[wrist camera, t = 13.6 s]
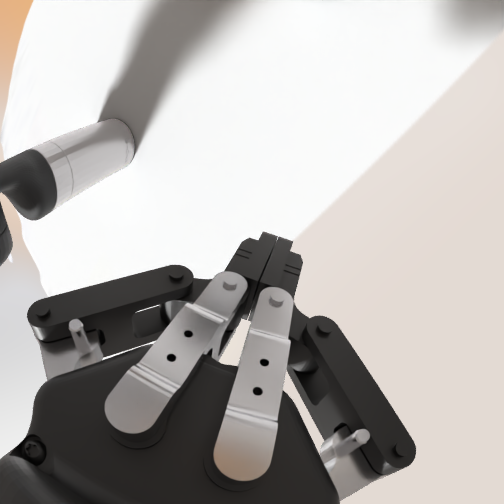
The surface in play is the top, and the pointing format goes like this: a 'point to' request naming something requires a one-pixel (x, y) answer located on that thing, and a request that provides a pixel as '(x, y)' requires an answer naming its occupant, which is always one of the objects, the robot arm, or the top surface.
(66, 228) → the top surface
